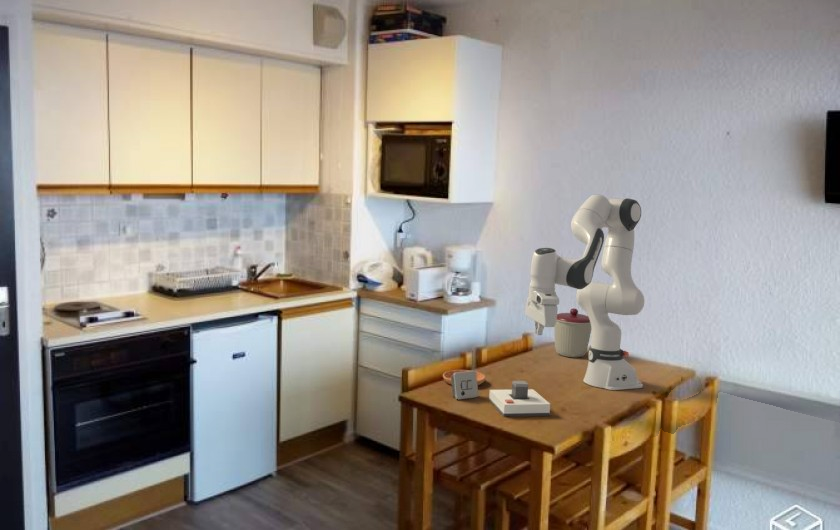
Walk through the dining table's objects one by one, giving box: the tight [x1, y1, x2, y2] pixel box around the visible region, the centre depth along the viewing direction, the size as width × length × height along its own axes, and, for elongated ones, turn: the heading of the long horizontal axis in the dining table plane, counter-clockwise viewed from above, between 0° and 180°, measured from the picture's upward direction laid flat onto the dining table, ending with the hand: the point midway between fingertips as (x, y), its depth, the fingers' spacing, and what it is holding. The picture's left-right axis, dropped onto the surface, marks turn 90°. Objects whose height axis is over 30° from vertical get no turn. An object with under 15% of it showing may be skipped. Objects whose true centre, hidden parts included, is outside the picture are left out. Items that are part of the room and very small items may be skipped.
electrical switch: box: [451, 370, 479, 400], centre depth 257 cm, size 9×5×9 cm, turn 121°
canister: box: [553, 307, 591, 358], centre depth 325 cm, size 18×18×21 cm
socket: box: [488, 388, 551, 418], centre depth 248 cm, size 16×16×5 cm
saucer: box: [442, 369, 486, 387], centre depth 275 cm, size 16×16×3 cm
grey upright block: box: [511, 380, 529, 400], centre depth 248 cm, size 4×4×8 cm
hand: (538, 334), depth 254 cm, fingers closed
